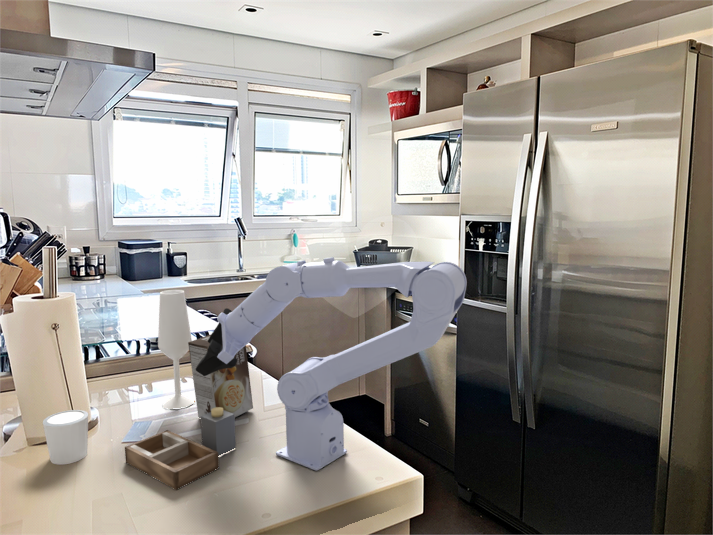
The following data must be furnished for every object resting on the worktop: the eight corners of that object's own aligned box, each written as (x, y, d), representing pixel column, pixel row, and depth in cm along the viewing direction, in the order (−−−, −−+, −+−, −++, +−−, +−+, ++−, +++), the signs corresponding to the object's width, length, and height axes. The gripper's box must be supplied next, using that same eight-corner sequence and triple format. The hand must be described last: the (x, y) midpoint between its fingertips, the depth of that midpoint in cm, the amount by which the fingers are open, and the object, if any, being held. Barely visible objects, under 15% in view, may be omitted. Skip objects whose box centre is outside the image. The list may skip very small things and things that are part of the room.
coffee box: (233, 402, 115) (225, 328, 112) (254, 408, 111) (246, 332, 108) (197, 419, 108) (187, 341, 105) (218, 427, 104) (208, 346, 101)
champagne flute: (176, 412, 111) (169, 296, 108) (154, 405, 115) (147, 293, 112) (201, 401, 117) (196, 290, 114) (180, 395, 121) (174, 288, 117)
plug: (235, 449, 95) (234, 408, 94) (217, 458, 92) (215, 416, 91) (220, 443, 98) (219, 403, 97) (202, 452, 95) (200, 410, 93)
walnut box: (219, 468, 89) (218, 452, 88) (176, 490, 82) (175, 472, 82) (168, 444, 97) (167, 429, 97) (125, 462, 91) (124, 446, 91)
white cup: (41, 468, 89) (37, 428, 88) (52, 449, 96) (48, 411, 95) (87, 463, 91) (84, 422, 90) (95, 444, 98) (92, 407, 97)
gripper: (244, 277, 99) (199, 321, 104) (226, 324, 86) (175, 371, 91) (274, 301, 101) (229, 342, 106) (260, 350, 89) (209, 394, 94)
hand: (206, 357), depth 99 cm, fingers open, 7 cm apart
